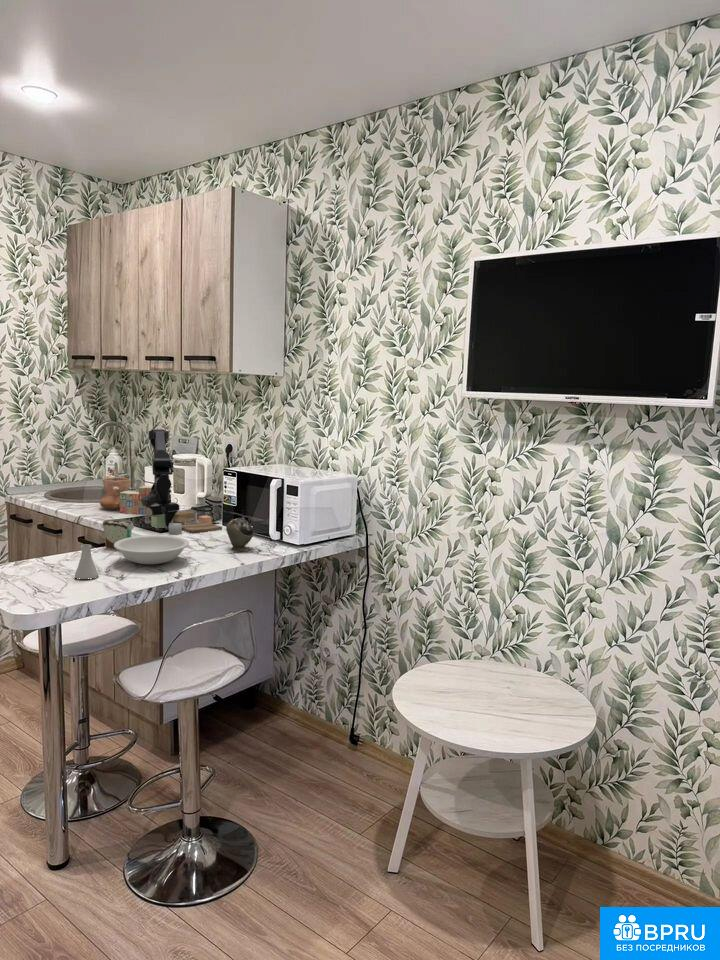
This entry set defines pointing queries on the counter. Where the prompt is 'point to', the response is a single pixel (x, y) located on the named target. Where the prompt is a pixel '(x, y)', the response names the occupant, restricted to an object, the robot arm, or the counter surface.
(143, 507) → the stack of blocks
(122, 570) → the counter surface
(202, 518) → the terracotta block
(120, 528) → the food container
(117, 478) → the ceramic jug
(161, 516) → the sage green brick
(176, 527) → the grey plastic cylinder
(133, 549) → the soup bowl
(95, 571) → the flask
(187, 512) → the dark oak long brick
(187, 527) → the walnut board
